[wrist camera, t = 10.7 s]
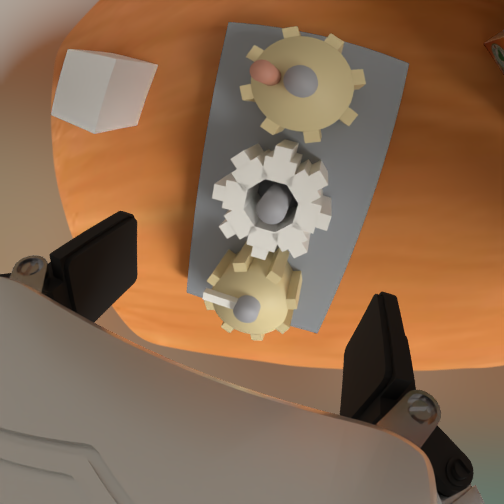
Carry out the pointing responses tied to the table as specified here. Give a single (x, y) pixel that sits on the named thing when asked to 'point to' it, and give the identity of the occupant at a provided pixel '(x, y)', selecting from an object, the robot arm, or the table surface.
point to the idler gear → (246, 198)
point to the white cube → (102, 90)
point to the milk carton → (497, 49)
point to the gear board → (311, 147)
